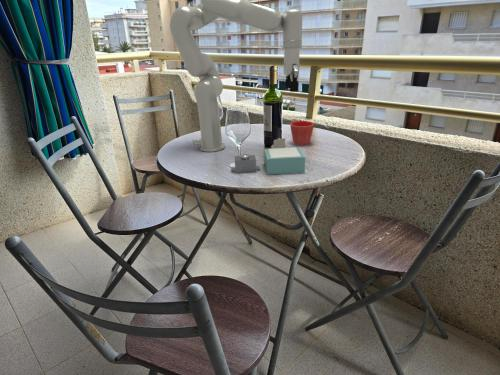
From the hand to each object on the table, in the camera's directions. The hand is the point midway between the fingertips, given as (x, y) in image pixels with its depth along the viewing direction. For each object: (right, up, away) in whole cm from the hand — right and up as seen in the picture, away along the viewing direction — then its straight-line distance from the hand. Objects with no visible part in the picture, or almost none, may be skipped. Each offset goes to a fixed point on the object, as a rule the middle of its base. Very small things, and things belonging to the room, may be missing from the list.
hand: (291, 89), depth 133 cm
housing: (-19, -34, -9) cm, 40 cm away
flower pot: (+7, -20, +20) cm, 29 cm away
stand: (-4, -33, -9) cm, 35 cm away
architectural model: (-5, -27, +7) cm, 28 cm away
